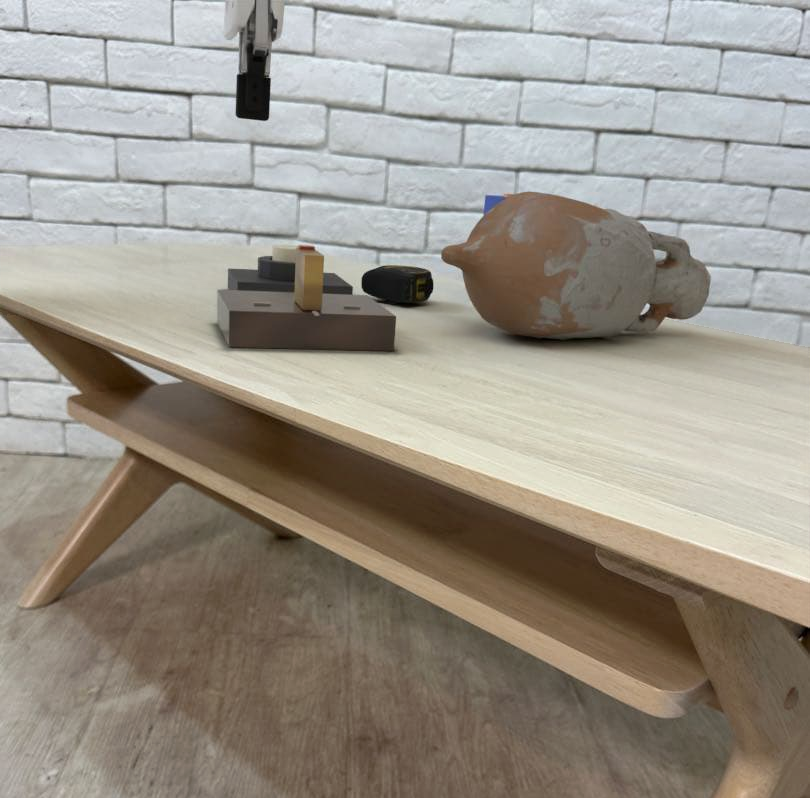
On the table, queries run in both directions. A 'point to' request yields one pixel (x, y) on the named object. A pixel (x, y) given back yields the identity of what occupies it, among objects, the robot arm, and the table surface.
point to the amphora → (574, 270)
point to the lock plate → (304, 322)
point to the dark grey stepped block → (279, 278)
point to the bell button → (284, 253)
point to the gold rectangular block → (309, 278)
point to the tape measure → (398, 283)
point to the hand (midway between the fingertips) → (252, 119)
